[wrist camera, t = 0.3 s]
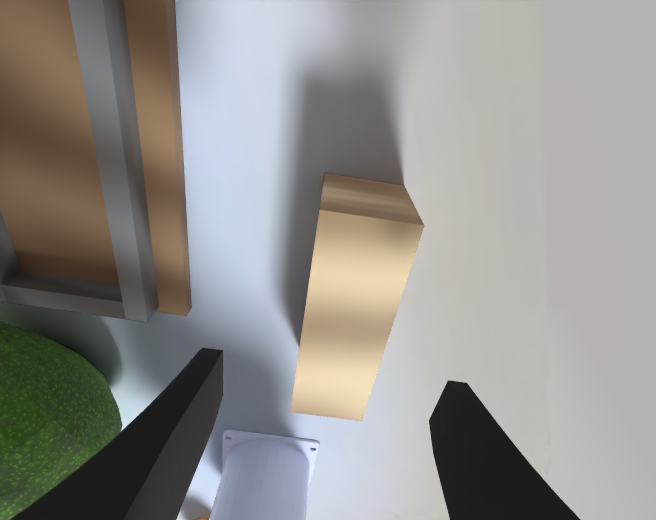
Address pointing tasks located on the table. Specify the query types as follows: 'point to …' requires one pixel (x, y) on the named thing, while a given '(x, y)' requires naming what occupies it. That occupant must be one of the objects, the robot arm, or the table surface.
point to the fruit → (47, 416)
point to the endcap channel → (92, 158)
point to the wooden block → (353, 292)
